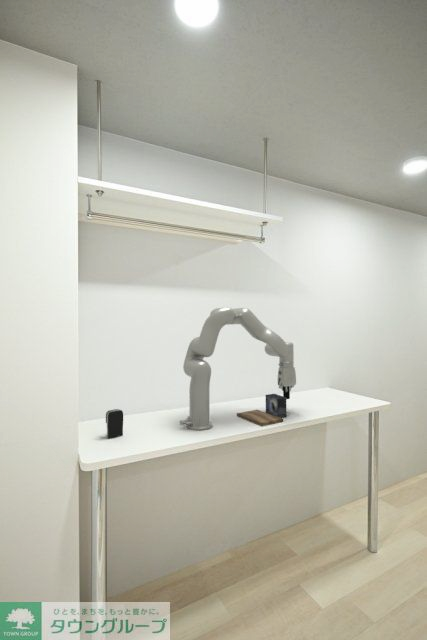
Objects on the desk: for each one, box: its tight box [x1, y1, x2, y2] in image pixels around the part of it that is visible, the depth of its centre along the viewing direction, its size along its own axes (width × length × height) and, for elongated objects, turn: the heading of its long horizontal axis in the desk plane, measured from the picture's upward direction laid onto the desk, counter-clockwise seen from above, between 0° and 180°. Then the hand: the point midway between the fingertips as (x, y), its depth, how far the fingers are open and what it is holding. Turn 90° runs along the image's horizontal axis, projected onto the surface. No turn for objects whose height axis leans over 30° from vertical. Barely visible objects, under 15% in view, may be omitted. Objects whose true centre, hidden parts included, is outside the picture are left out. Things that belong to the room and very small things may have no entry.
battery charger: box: [105, 408, 124, 439], centre depth 140 cm, size 7×4×11 cm, turn 130°
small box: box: [265, 393, 288, 419], centre depth 172 cm, size 11×6×10 cm, turn 27°
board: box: [236, 409, 284, 427], centre depth 165 cm, size 14×20×2 cm
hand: (286, 398), depth 176 cm, fingers closed
